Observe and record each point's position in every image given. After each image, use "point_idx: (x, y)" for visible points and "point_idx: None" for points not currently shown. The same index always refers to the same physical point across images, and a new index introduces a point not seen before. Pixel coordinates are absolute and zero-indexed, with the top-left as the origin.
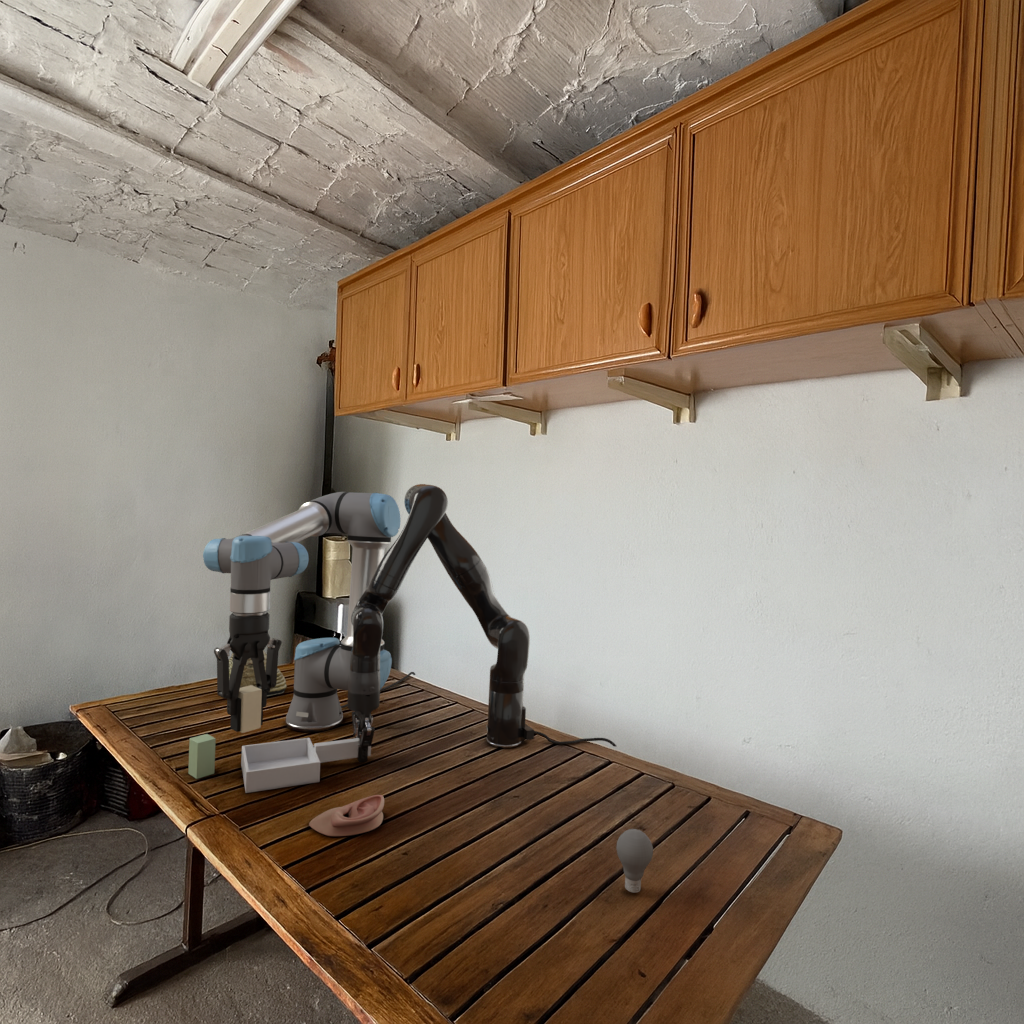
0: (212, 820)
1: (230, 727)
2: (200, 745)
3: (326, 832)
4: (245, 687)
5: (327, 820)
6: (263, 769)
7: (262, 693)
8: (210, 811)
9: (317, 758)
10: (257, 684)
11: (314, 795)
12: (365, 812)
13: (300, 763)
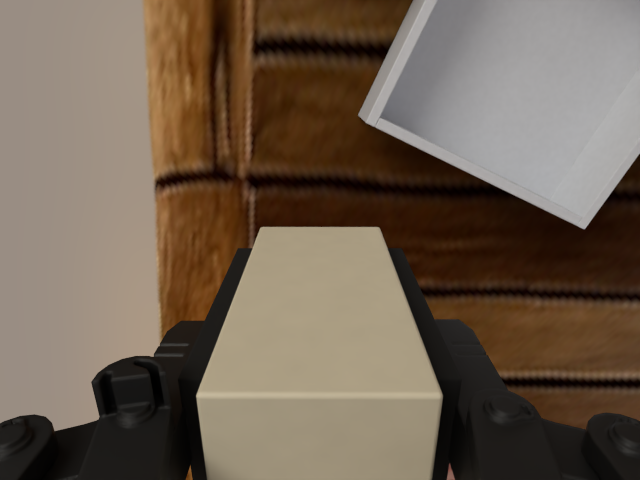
0: (214, 201)
1: (236, 253)
2: None
3: None
4: (334, 431)
5: None
6: (419, 146)
7: (443, 473)
8: (230, 149)
9: (601, 199)
10: (476, 465)
11: (477, 266)
12: (452, 474)
13: (614, 49)
